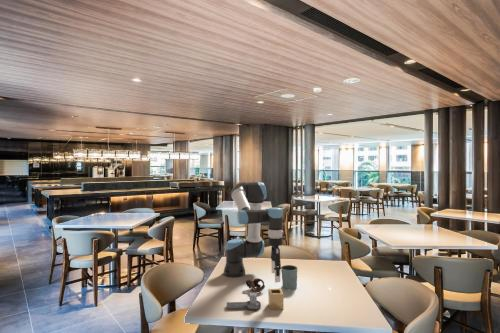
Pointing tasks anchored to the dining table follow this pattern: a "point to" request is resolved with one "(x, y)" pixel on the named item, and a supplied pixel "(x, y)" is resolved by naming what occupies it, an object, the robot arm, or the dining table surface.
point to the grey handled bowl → (245, 304)
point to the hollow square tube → (275, 299)
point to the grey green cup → (289, 276)
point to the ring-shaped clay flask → (255, 285)
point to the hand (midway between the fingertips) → (275, 277)
